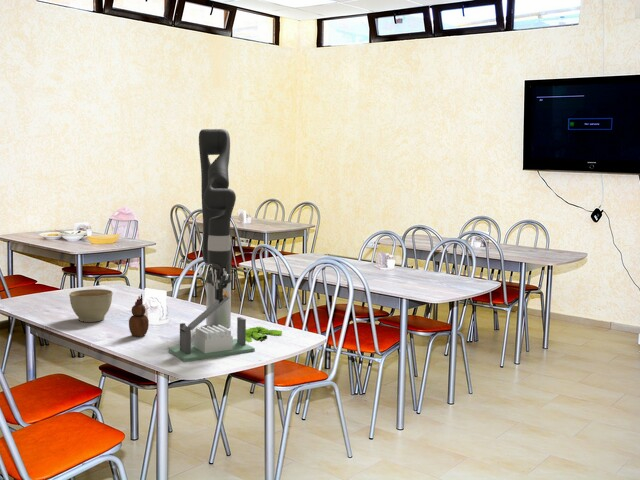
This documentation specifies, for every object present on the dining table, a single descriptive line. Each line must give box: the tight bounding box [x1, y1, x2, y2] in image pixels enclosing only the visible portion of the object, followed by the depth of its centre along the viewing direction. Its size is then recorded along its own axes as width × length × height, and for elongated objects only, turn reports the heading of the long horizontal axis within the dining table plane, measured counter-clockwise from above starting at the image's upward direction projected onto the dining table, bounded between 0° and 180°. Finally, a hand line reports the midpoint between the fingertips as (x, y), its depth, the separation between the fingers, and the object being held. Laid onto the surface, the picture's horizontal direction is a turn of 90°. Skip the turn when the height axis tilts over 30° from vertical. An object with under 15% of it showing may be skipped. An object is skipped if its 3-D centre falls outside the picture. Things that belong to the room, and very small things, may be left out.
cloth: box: [246, 326, 283, 343], centre depth 259 cm, size 20×22×2 cm
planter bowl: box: [68, 288, 113, 323], centre depth 276 cm, size 16×16×11 cm
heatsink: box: [168, 316, 256, 363], centre depth 237 cm, size 14×25×10 cm, turn 123°
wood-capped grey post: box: [181, 291, 229, 331], centre depth 234 cm, size 19×3×2 cm
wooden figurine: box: [128, 293, 150, 337], centre depth 254 cm, size 7×6×15 cm
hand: (218, 299), depth 236 cm, fingers closed
